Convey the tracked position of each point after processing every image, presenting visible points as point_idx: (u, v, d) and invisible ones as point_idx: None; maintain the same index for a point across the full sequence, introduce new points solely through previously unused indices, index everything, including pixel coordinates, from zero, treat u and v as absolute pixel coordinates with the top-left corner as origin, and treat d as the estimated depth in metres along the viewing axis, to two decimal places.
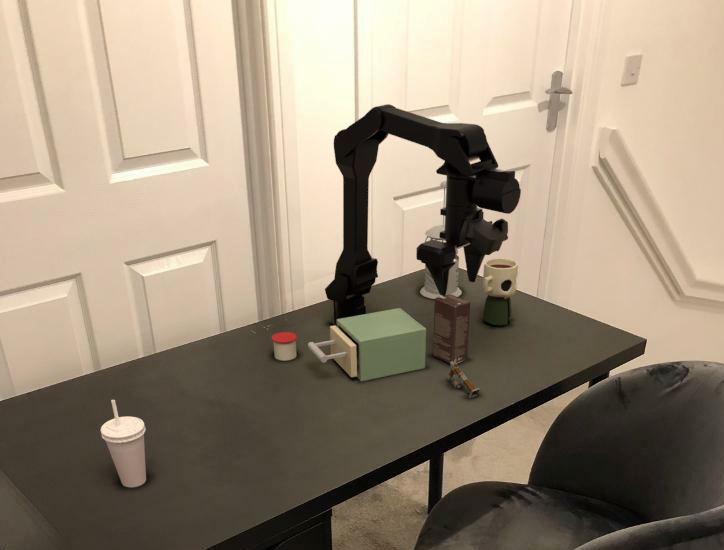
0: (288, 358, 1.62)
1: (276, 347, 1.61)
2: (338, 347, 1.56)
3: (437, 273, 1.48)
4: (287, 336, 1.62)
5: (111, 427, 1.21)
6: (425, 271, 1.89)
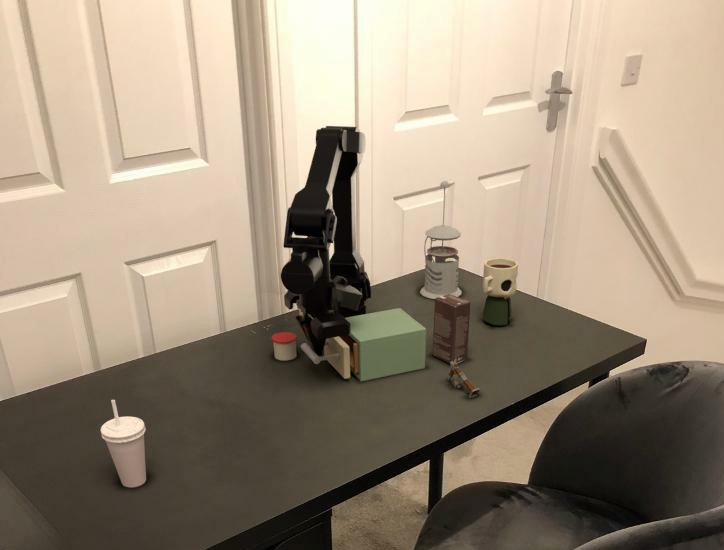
0: (288, 358, 1.62)
1: (276, 347, 1.61)
2: (332, 348, 1.56)
3: (317, 337, 1.51)
4: (287, 336, 1.62)
5: (111, 427, 1.21)
6: (425, 271, 1.89)
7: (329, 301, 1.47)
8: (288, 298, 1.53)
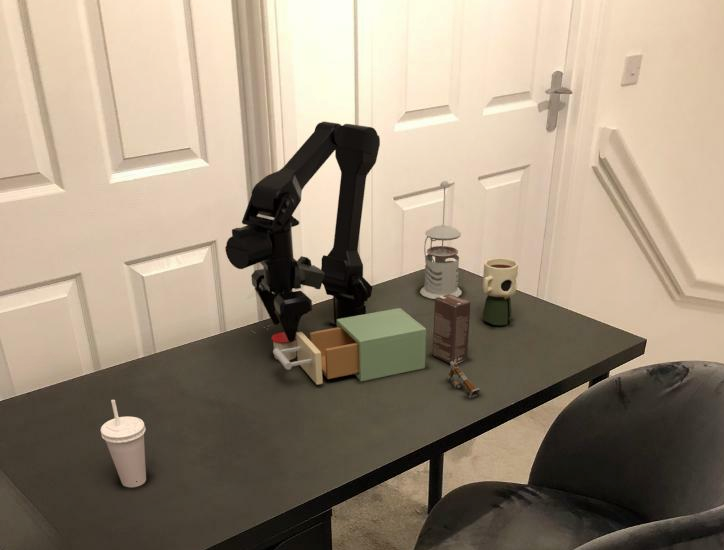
0: (288, 358, 1.62)
1: (276, 347, 1.61)
2: (304, 353, 1.54)
3: (289, 322, 1.54)
4: None
5: (111, 427, 1.21)
6: (425, 271, 1.89)
7: (292, 280, 1.54)
8: (255, 277, 1.60)
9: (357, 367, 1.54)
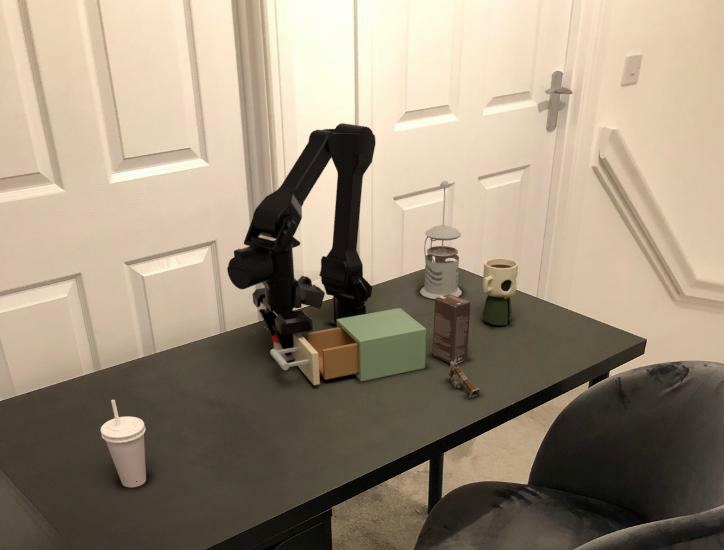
0: (288, 358, 1.62)
1: (276, 348, 1.61)
2: (301, 354, 1.54)
3: (286, 337, 1.58)
4: None
5: (111, 427, 1.21)
6: (425, 271, 1.89)
7: (293, 299, 1.56)
8: (256, 296, 1.62)
9: (354, 368, 1.54)
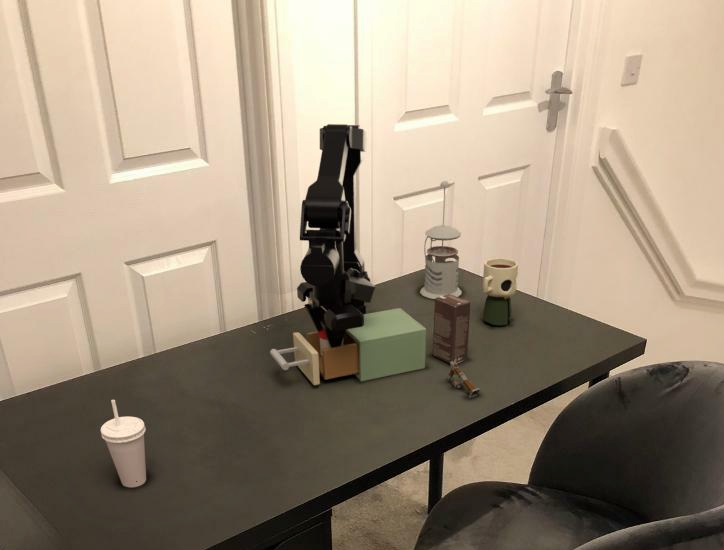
0: None
1: (323, 344, 1.53)
2: (301, 354, 1.54)
3: (335, 333, 1.50)
4: None
5: (111, 427, 1.21)
6: (425, 271, 1.89)
7: (342, 293, 1.48)
8: (301, 290, 1.54)
9: (354, 368, 1.54)
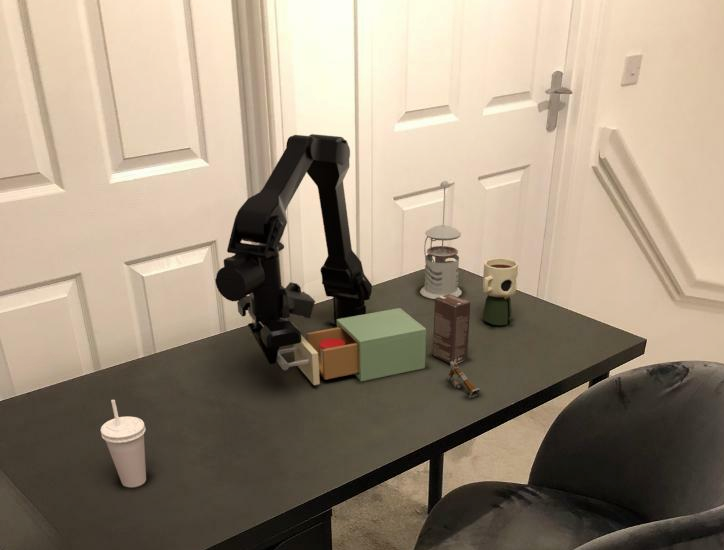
0: None
1: None
2: (301, 354, 1.54)
3: None
4: (335, 342, 1.55)
5: (111, 427, 1.21)
6: (425, 271, 1.89)
7: (280, 309, 1.44)
8: (241, 305, 1.50)
9: (354, 368, 1.54)
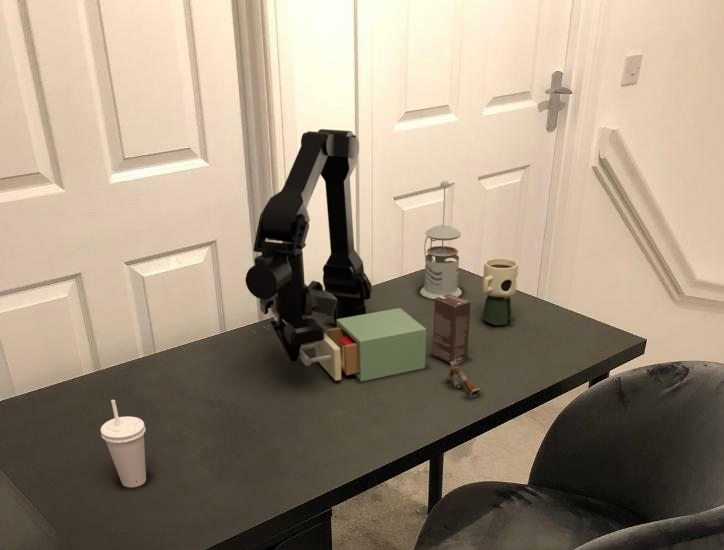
0: None
1: None
2: (323, 350, 1.55)
3: None
4: None
5: (111, 427, 1.21)
6: (425, 271, 1.89)
7: (303, 306, 1.46)
8: (263, 303, 1.52)
9: None
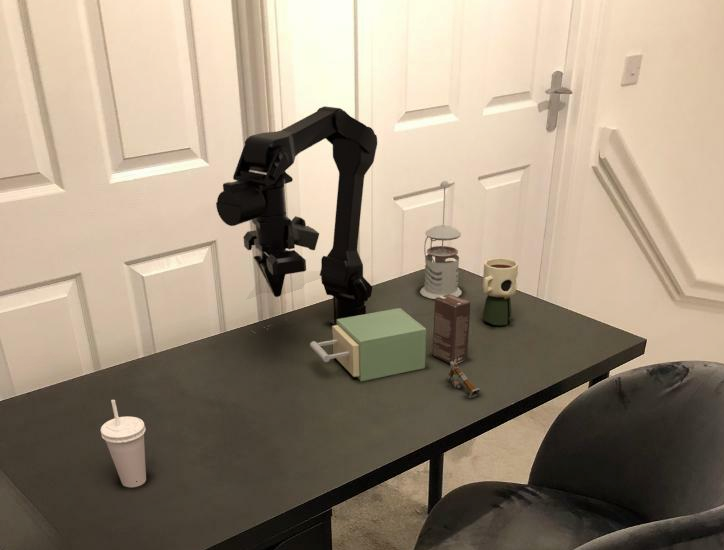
0: None
1: None
2: (341, 346, 1.57)
3: (275, 276, 1.52)
4: None
5: (111, 427, 1.21)
6: (425, 271, 1.89)
7: (286, 239, 1.48)
8: (247, 239, 1.54)
9: None
